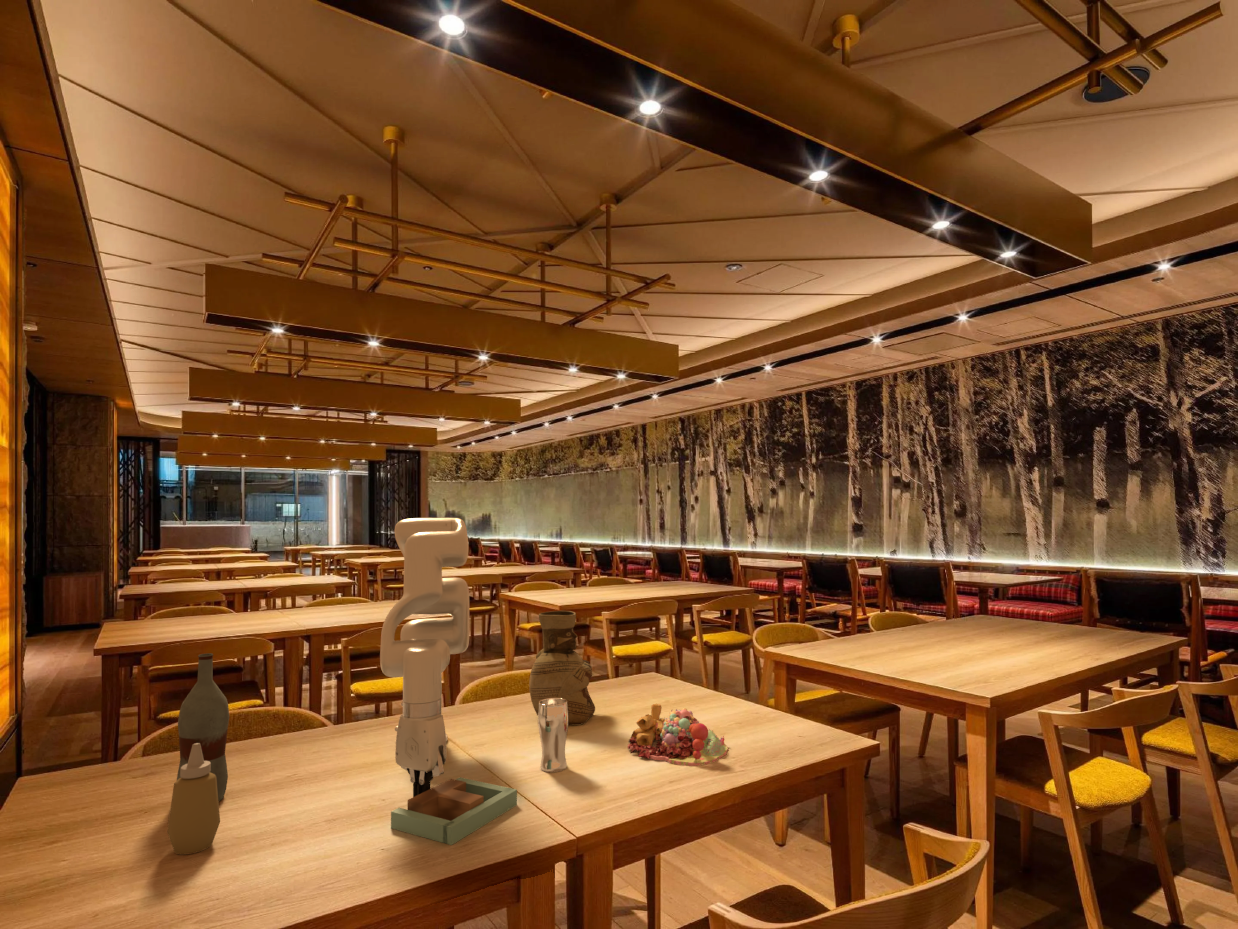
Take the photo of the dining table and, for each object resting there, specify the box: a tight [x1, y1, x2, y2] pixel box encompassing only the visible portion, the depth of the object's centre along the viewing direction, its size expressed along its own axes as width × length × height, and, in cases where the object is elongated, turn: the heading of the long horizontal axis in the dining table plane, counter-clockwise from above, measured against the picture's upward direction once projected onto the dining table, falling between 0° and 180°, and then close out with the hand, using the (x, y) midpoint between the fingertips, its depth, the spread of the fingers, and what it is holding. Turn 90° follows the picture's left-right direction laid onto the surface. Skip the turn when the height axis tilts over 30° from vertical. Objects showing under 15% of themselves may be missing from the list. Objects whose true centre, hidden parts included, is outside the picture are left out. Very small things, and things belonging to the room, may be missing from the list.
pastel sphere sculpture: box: [627, 703, 729, 767], centre depth 172 cm, size 25×24×9 cm
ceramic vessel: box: [528, 610, 596, 726], centre depth 199 cm, size 19×21×30 cm
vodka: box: [175, 652, 230, 802], centre depth 144 cm, size 9×9×30 cm
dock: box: [390, 776, 518, 846], centre depth 134 cm, size 15×19×3 cm
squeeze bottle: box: [166, 743, 221, 855], centre depth 123 cm, size 8×8×18 cm
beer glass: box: [537, 698, 569, 773], centre depth 159 cm, size 7×7×15 cm
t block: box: [407, 778, 484, 821], centre depth 134 cm, size 12×12×4 cm
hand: (421, 801), depth 138 cm, fingers closed
